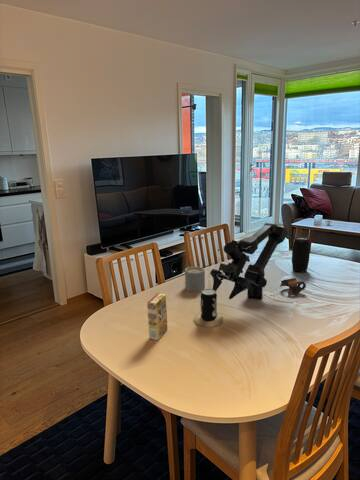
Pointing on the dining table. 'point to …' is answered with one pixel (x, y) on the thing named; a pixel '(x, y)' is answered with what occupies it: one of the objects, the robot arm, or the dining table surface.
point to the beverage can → (208, 305)
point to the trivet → (201, 322)
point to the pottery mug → (293, 286)
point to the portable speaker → (300, 254)
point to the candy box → (157, 316)
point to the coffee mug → (194, 279)
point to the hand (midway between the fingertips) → (221, 295)
